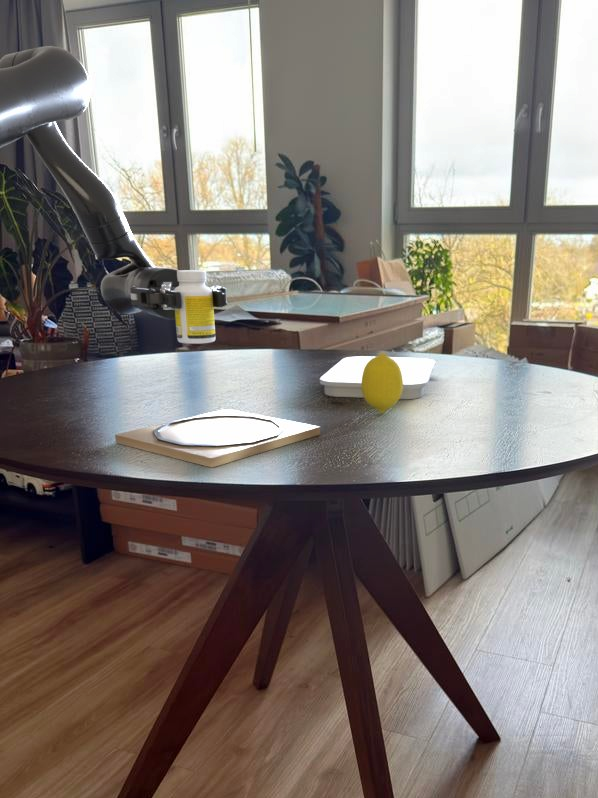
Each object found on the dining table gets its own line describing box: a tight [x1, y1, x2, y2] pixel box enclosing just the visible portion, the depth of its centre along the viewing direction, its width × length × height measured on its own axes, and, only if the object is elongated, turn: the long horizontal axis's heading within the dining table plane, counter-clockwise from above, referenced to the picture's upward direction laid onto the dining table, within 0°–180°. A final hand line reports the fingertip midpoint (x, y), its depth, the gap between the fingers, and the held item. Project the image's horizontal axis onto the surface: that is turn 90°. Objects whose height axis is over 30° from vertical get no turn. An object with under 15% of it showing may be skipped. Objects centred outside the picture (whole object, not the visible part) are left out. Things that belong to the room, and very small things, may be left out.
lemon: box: [361, 352, 403, 414], centre depth 96 cm, size 6×6×8 cm
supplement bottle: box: [174, 269, 216, 345], centre depth 103 cm, size 5×5×10 cm
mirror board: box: [114, 408, 321, 468], centre depth 84 cm, size 17×16×1 cm
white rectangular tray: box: [319, 355, 436, 400], centre depth 118 cm, size 16×26×2 cm, turn 173°
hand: (200, 299), depth 100 cm, fingers closed on supplement bottle, 5 cm apart
